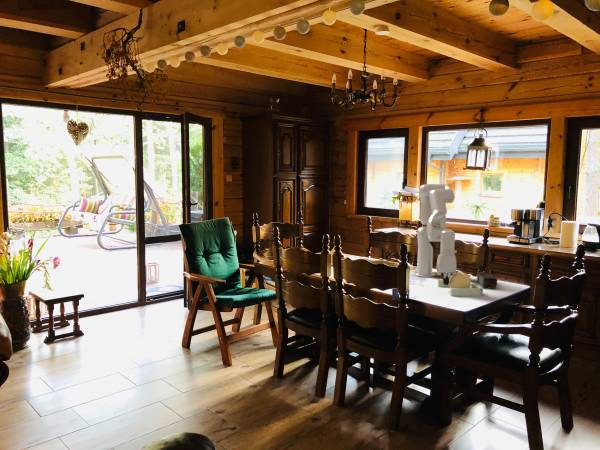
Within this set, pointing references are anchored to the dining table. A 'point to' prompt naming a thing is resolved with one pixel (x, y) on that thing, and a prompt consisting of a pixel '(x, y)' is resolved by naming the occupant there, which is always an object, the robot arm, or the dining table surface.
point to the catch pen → (463, 290)
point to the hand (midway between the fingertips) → (445, 284)
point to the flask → (397, 295)
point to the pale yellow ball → (460, 280)
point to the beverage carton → (487, 280)
